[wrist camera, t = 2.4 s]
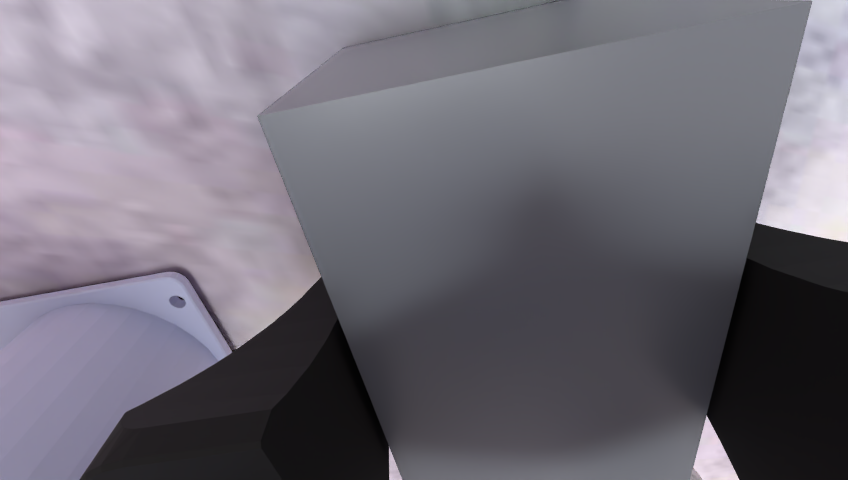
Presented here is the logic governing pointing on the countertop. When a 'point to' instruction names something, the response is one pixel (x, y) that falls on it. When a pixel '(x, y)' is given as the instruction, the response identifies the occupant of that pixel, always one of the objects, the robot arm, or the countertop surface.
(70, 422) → the robot arm
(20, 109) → the countertop surface
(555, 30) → the grey rectangular block
